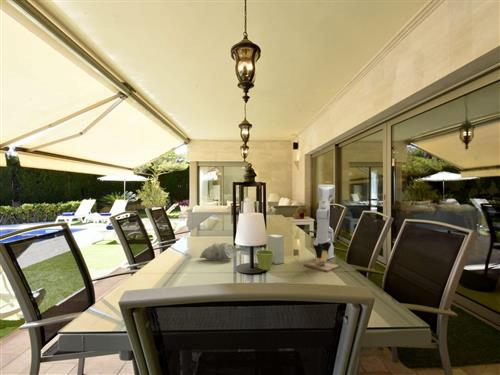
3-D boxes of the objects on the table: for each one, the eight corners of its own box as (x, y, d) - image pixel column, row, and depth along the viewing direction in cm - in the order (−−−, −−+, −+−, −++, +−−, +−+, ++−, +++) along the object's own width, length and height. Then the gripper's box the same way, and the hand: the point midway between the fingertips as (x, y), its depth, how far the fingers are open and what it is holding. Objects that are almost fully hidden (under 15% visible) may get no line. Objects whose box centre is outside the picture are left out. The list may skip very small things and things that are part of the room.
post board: (316, 261, 160) (316, 254, 160) (339, 267, 150) (339, 259, 150) (303, 266, 151) (303, 258, 151) (327, 272, 141) (327, 264, 141)
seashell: (198, 261, 155) (199, 243, 155) (213, 255, 168) (214, 239, 168) (223, 265, 147) (223, 246, 147) (237, 259, 160) (237, 242, 160)
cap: (319, 258, 155) (319, 248, 155) (328, 260, 151) (328, 250, 151) (313, 259, 151) (314, 249, 151) (323, 262, 147) (323, 251, 147)
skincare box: (284, 263, 155) (285, 236, 155) (275, 264, 152) (276, 237, 152) (274, 259, 162) (275, 233, 162) (266, 260, 159) (267, 234, 159)
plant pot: (268, 273, 137) (268, 255, 137) (251, 269, 142) (252, 252, 142) (276, 268, 144) (277, 251, 144) (260, 265, 149) (261, 249, 149)
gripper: (322, 229, 158) (322, 253, 159) (308, 231, 148) (308, 257, 148) (334, 231, 154) (333, 255, 154) (320, 233, 143) (319, 260, 143)
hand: (321, 257), depth 151 cm, fingers closed on cap, 5 cm apart
